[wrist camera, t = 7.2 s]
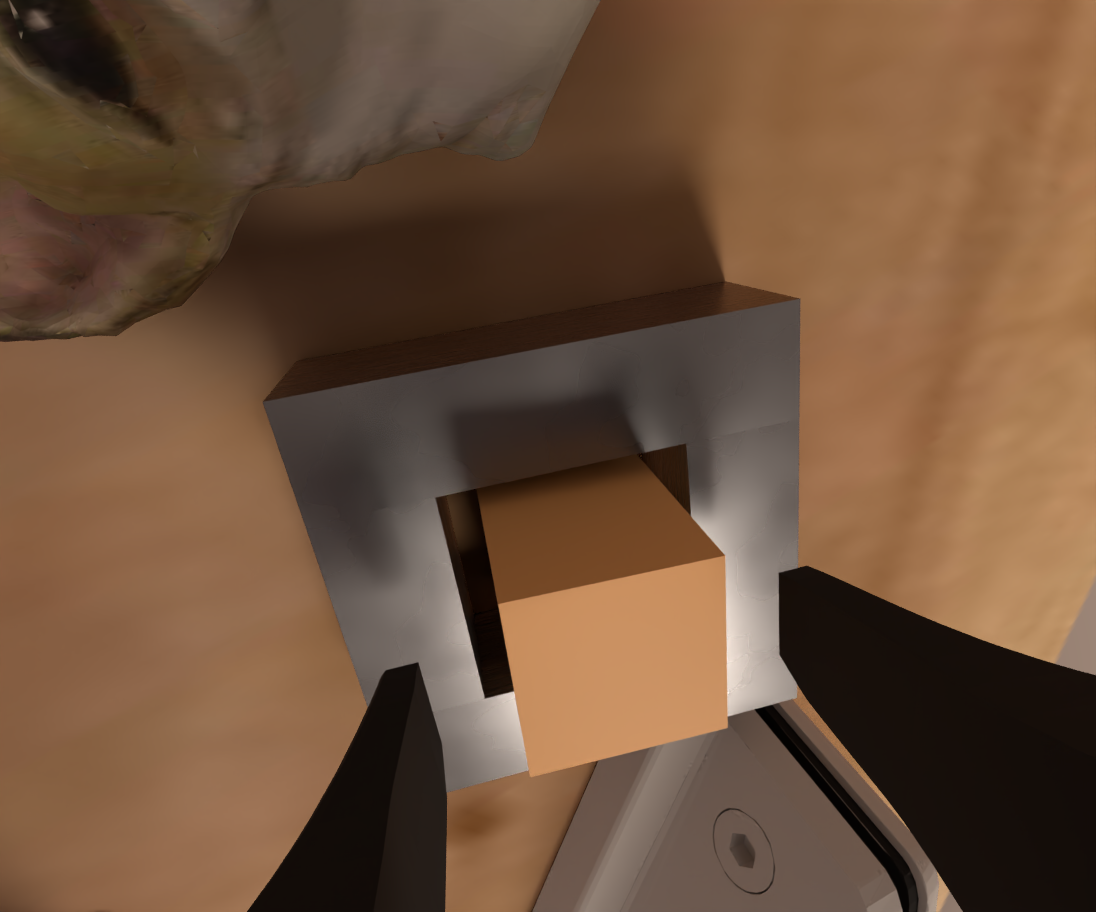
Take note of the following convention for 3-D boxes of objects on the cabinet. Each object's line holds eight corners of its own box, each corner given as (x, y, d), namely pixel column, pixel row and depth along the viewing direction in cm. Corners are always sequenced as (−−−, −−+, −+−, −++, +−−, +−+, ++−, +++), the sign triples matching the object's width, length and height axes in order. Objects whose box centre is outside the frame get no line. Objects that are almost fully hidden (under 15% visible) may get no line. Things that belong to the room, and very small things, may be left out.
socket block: (404, 706, 19) (401, 804, 16) (296, 361, 15) (262, 401, 12) (738, 621, 21) (796, 697, 17) (725, 281, 16) (800, 298, 13)
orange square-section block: (493, 578, 18) (530, 777, 12) (469, 453, 17) (498, 603, 10) (624, 551, 19) (728, 727, 12) (613, 427, 17) (725, 555, 11)
